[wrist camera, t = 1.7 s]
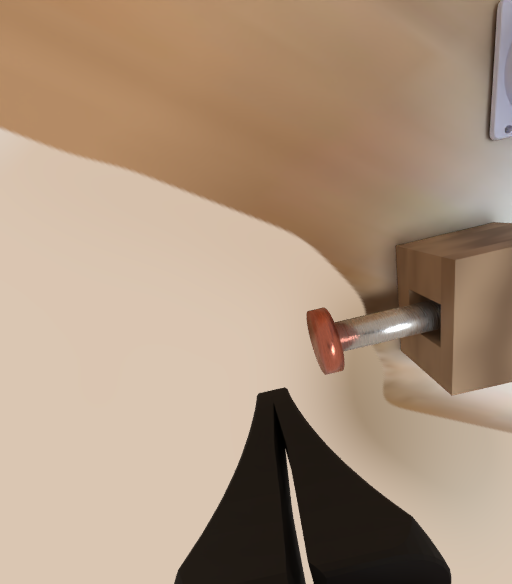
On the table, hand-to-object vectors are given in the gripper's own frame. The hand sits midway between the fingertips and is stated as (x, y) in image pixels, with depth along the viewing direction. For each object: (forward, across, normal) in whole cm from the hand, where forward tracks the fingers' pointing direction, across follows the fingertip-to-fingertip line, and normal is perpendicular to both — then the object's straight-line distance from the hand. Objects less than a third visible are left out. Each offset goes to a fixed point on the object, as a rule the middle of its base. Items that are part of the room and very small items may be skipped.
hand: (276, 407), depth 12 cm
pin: (+10, -10, +2) cm, 14 cm away
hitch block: (+10, -16, +2) cm, 19 cm away
